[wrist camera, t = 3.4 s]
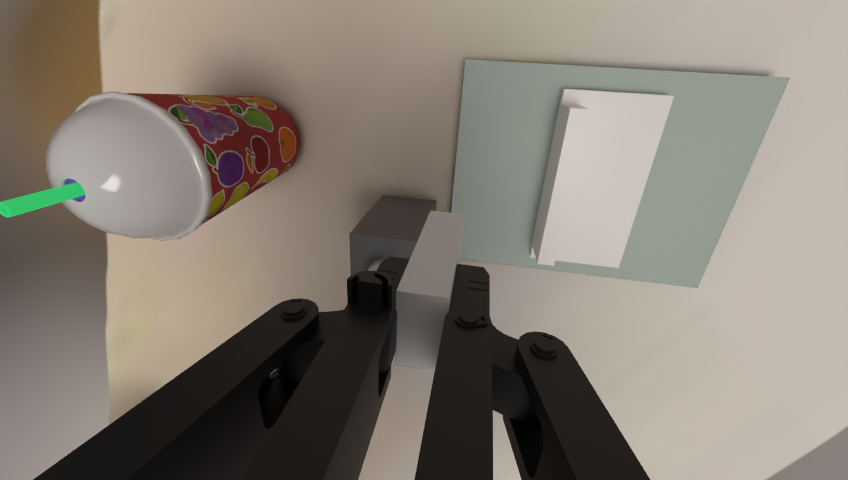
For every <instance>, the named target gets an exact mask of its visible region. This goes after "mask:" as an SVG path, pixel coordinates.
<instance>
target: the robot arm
mask: <svg viewBox="0 0 848 480" xmlns="http://www.w3.org/2000/svg"><path fill="white" fill-rule="evenodd" d="M463 222H464V214H457V213H448V212H439V211H430V213H429V215H428V218H427V220H426V222H425V225H424V227H423V229H422V232H421V234H420V236H419V239H418V241H417V243H416V246H415V248H414V251H413V253H412V255H411V258H410V259H406V258H398V257H388V258H387V259H385V260H384V261H382V262H381V263H380V265H379V267H378V268H377V271H362V272H358V273H355V274H353V275H351V276H350V277H349V278H348V279H347V295H348V304H347V306H346V307H345V309H344V310H340V311H332V312H319V310H318V306H317V305H316V303H314V302H312V301H310V300H307V299H291V300H287V301H283V302H281V303H279V304H278V305H276V306H274V307H273V308H271V309H270V310H269V311H267V312H266V313H264V314H263V315H262V316H260V317H259V318H258V319H256V320H255V321H253V322H252V323H251V324H249V325H248V326H246V327H245V328H244V329H242V330H241V331H239V332H238V333H237V334H235V335H234V336H232V337H231V338H230V339H228V340H227V341H225V342H224V343H223V344H221V345H220V346H219V347H217V348H216V349H214V350H213V351H212V352H210V353H209V354H207V355H206V356H205V357H203V358H202V359H200V360H199V361H198V362H196V363H195V364H193V365H192V366H191V367H189V368H188V369H187V370H185V371H184V372H182V373H181V374H180V375H178V376H177V377H175V378H174V379H173V380H171V381H170V382H168V383H167V384H166V385H164V386H163V387H161V388H160V389H159V390H157V391H156V392H155V393H153V394H152V395H150V396H149V397H148V398H146V399H145V400H143V401H142V402H141V403H139V404H138V405H136V406H135V407H134V408H132V409H131V410H129V411H128V412H127V413H125V414H124V415H122V416H121V417H120V418H118V419H117V420H116V421H114V422H113V423H111V424H110V425H109V426H107V427H106V428H104V429H103V430H102V431H100V432H99V433H98V434H96V435H95V436H93V437H92V438H90V439H89V440H88V441H86V442H85V443H84V444H82V445H81V446H79V447H78V448H77V449H75V450H74V451H72V452H71V453H70V454H68V455H67V456H65V457H64V458H63V459H61V460H60V461H58V462H57V463H56V464H54V465H53V466H52V467H50V468H49V469H47V470H46V471H45V472H43V473H42V474H40V475H39V476H38V477H36V478H35V479H34V480H358V478H359V475H360V472H361V468H362V465H363V462H364V459H365V456H366V453H367V450H368V447H369V443H370V440H371V437H372V434H373V431H374V428H375V425H376V422H377V418H378V415H379V412H380V409H381V406H382V403H383V400H384V397H385V393H386V390H387V387H388V384H389V381H390V378H391V363H392V360H393V357H394V354H395V361H394V365H400V366H406V367H412V368H418V369H424V370H431V371H435V373H434V379H433V384H432V389H431V395H430V400H429V405H428V411H427V416H426V421H425V427H424V432H423V438H422V443H421V448H420V454H419V459H418V464H417V470H416V475H415V480H493V410H494V411H496V412H498V413H501V414H503V421H504V424H505V427H506V430H507V434H508V437H509V440H510V443H511V447H512V450H513V453H514V456H515V460H516V463H517V466H518V469H519V472H520V476H521V479H522V480H650V478H649V477H648V475H647V474H646V472H645V470H644V469H643V467H642V466H641V464H640V462H639V461H638V459H637V458H636V456H635V454H634V453H633V451H632V449H631V448H630V446H629V445H628V443H627V441H626V440H625V438H624V437H623V435H622V433H621V432H620V430H619V429H618V427H617V425H616V424H615V422H614V420H613V419H612V417H611V416H610V414H609V412H608V411H607V409H606V408H605V406H604V404H603V403H602V401H601V400H600V398H599V396H598V395H597V393H596V391H595V390H594V388H593V387H592V385H591V383H590V382H589V380H588V379H587V377H586V375H585V374H584V372H583V370H582V369H581V367H580V366H579V364H578V362H577V361H576V359H575V358H574V356H573V354H572V353H571V351H570V350H569V348H568V347H567V346H566V345H565V344H564V342H563V341H561V340H559V339H558V338H556V337H555V336H552V335H549V334H547V333H542V332H529V333H525V334H524V335H522V336H520V338H519V340H518V339H515V338H512V337H510V336H508V335H505V334H503V333H502V332H500V331H499V330H497V329H496V328H495V327H494V326H493V324H492V322H491V319H490V316H489V274H488V273H487V271H486V270H485V268H484V267H477V266H469V265H461V264H459V259H460V250H461V241H462V232H463ZM276 368H277V369H276ZM275 369H276V370H275ZM274 370H275V371H274ZM273 371H274V372H273ZM272 372H273V373H272ZM271 373H272V374H271Z"/></svg>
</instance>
